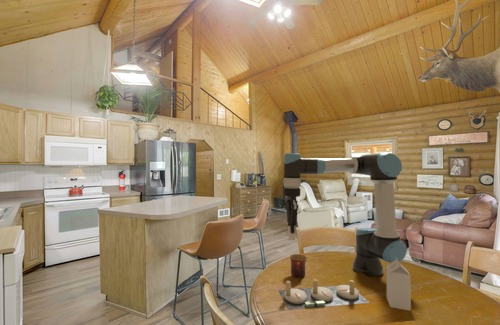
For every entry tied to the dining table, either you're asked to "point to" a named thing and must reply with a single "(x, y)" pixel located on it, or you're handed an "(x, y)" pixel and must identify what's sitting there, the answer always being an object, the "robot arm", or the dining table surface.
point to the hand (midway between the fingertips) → (291, 239)
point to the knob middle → (321, 292)
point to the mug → (298, 265)
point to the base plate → (315, 303)
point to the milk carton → (398, 286)
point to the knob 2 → (348, 290)
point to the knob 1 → (294, 294)
